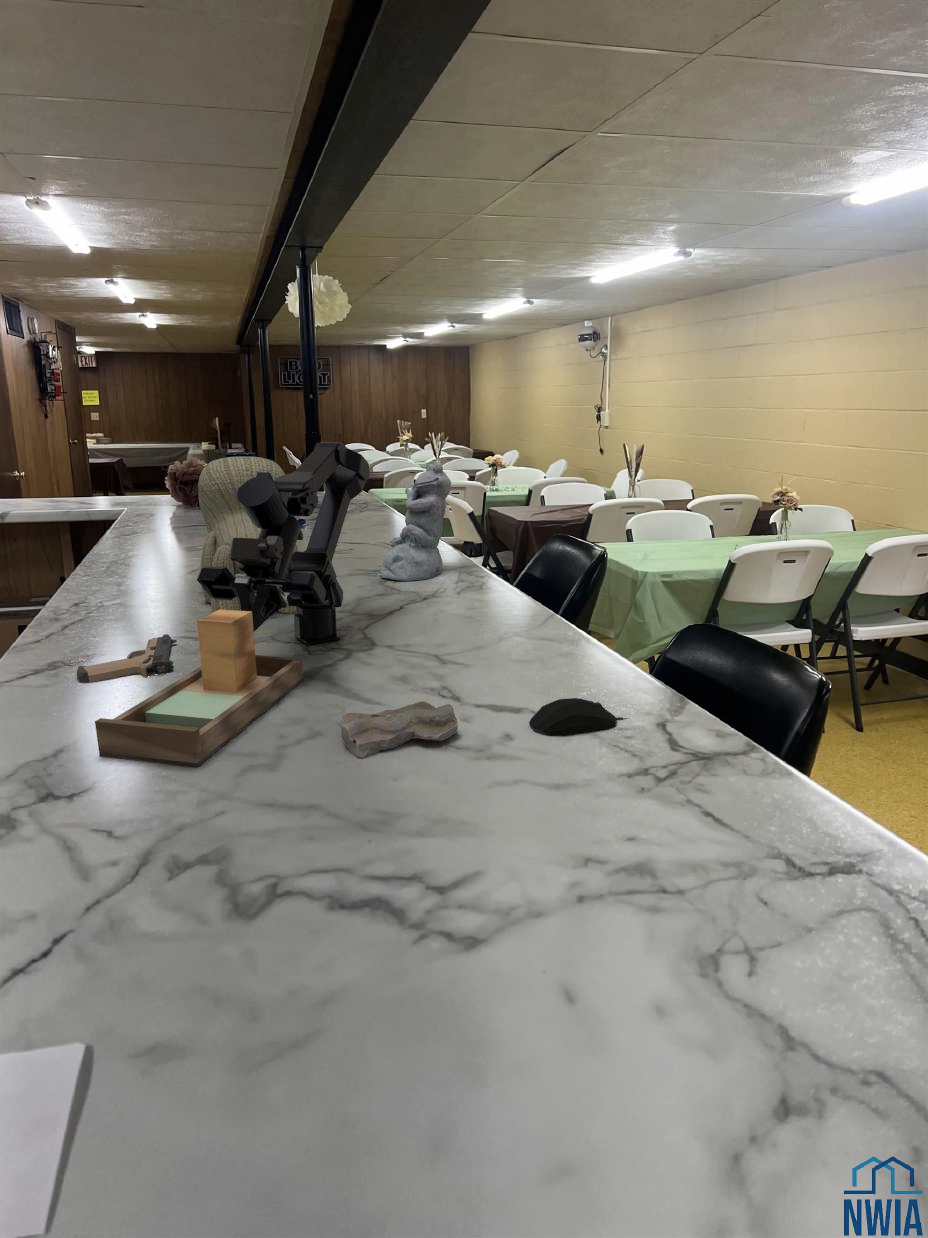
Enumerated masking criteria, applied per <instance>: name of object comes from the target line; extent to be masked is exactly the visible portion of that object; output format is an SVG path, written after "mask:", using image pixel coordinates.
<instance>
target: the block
mask: <svg viewBox="0 0 928 1238" xmlns="http://www.w3.org/2000/svg"><path fill="white" fill-rule="evenodd" d="M196 622H197V623H196V625H197V633H198V644H199V654H200V655H199V656H200V667H201V668H202V679H203V690H211V691H222V692H233V693H237V692H238V691H240V690H241V689H243V688H244V687H245V686H247V685H248V684H250V683H251V682H252V681H254V680H255V679H256V678H257V672H256V658H255V655H256V649H255V645H256V644H255V633H254V631H253V617H252V611H237V610H222V609H220V610H217V611H215V612H211V613H210V614H208V615H205V616H203V617H201V618H199V619H197V620H196Z"/></svg>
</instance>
